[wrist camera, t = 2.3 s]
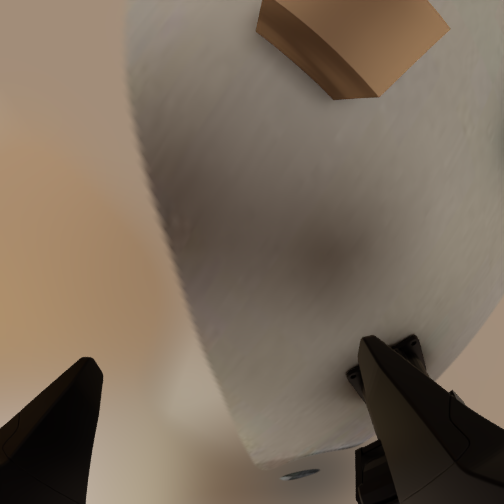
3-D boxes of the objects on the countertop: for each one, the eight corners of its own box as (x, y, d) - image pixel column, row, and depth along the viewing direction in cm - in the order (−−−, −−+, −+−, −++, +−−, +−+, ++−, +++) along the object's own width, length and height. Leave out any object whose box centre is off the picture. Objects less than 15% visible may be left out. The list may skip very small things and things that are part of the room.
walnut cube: (392, 44, 10) (450, 28, 6) (333, 100, 12) (379, 97, 8) (322, -21, 9) (356, -65, 4) (255, 31, 10) (263, -8, 6)
